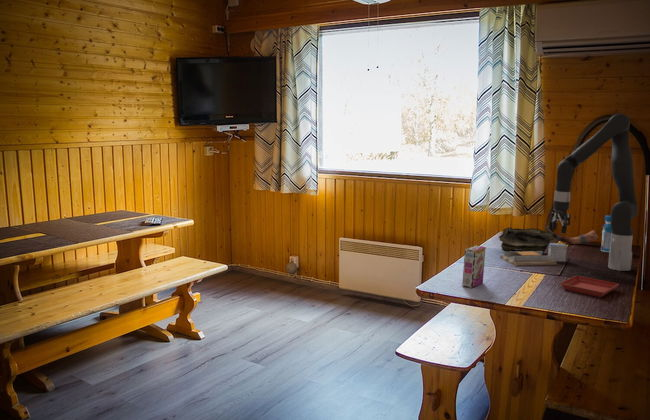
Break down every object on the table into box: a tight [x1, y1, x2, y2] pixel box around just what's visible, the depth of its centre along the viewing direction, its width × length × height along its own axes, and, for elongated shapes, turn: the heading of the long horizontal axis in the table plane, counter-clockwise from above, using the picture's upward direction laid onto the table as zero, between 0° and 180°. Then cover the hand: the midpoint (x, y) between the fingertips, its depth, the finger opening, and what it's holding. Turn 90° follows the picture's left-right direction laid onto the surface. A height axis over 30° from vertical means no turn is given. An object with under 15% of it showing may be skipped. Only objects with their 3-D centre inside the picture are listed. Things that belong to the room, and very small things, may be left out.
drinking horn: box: [545, 225, 599, 245], centre depth 327 cm, size 5×29×10 cm, turn 78°
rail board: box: [499, 254, 558, 267], centre depth 284 cm, size 16×22×2 cm
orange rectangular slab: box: [517, 251, 540, 256], centre depth 284 cm, size 7×9×1 cm
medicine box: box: [547, 242, 568, 263], centre depth 286 cm, size 8×4×9 cm, turn 84°
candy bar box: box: [461, 245, 486, 289], centre depth 240 cm, size 11×5×16 cm, turn 141°
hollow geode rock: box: [498, 227, 555, 255], centre depth 305 cm, size 28×13×15 cm
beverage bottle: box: [600, 214, 612, 253], centre depth 309 cm, size 8×8×20 cm
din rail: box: [503, 250, 553, 261], centre depth 284 cm, size 11×21×2 cm, turn 99°
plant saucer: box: [560, 275, 620, 298], centre depth 237 cm, size 18×18×3 cm
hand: (558, 231), depth 285 cm, fingers open, 8 cm apart
